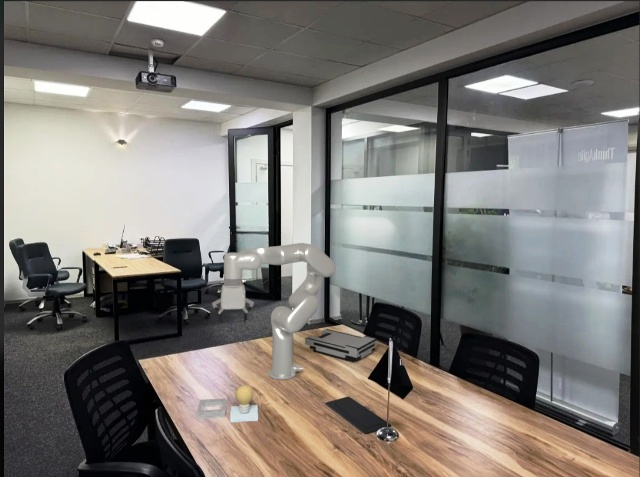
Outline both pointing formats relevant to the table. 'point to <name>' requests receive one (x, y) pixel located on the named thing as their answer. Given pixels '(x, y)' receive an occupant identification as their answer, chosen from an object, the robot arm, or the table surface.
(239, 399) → the light bulb
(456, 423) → the table surface
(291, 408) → the table surface
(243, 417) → the pad
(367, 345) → the game console
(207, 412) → the frame
